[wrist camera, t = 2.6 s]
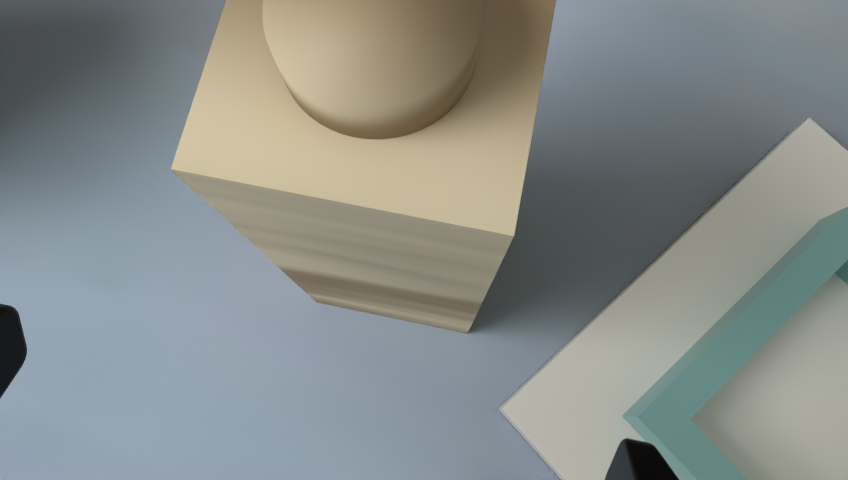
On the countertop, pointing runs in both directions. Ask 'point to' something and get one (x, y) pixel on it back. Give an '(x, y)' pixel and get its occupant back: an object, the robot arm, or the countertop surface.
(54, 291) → the countertop surface
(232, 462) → the countertop surface
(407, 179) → the beige tall block
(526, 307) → the countertop surface
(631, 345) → the baseplate
